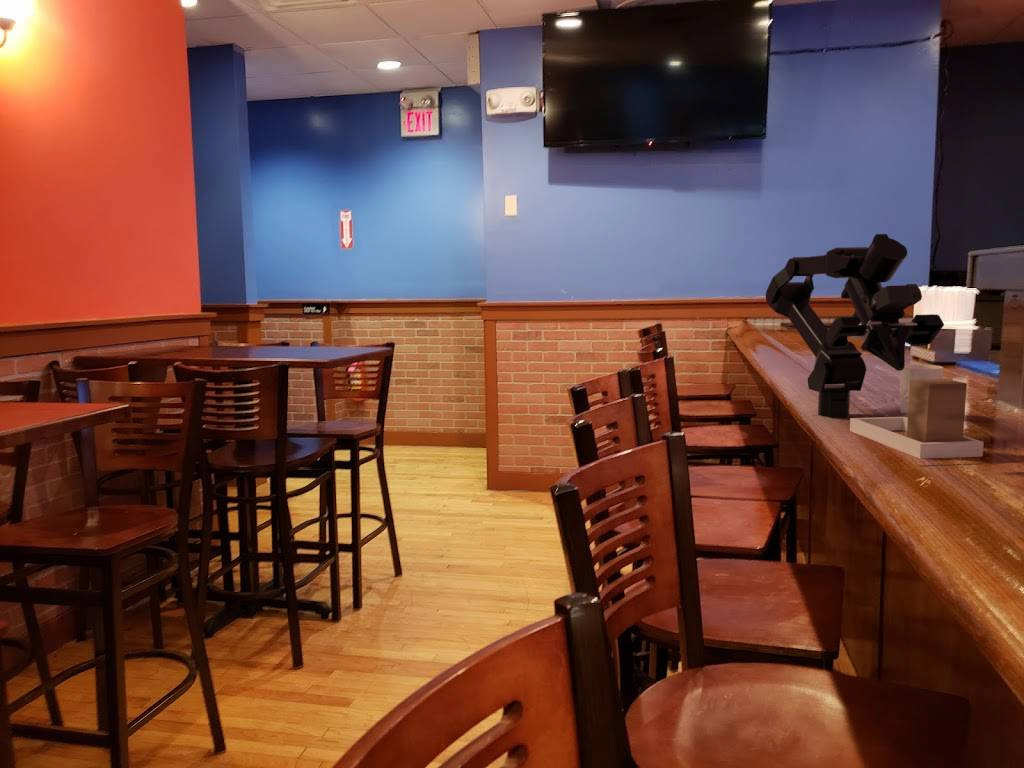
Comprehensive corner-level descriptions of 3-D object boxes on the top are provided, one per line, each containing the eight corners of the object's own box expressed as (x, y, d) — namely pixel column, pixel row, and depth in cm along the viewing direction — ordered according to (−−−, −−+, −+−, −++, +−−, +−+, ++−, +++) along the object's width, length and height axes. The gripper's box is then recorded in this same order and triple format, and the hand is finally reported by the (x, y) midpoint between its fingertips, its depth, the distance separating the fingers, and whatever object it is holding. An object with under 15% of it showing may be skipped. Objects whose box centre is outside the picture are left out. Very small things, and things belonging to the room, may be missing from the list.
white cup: (948, 418, 155) (951, 368, 154) (908, 418, 155) (911, 369, 154) (928, 411, 163) (931, 364, 161) (890, 411, 163) (892, 364, 162)
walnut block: (906, 447, 125) (910, 379, 123) (941, 446, 125) (946, 378, 124) (924, 454, 120) (929, 384, 118) (961, 453, 120) (966, 383, 119)
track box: (849, 437, 139) (850, 418, 138) (903, 435, 140) (904, 416, 139) (919, 466, 118) (920, 444, 118) (982, 464, 119) (983, 441, 118)
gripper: (836, 269, 133) (866, 339, 124) (940, 267, 134) (979, 336, 125) (813, 313, 142) (840, 381, 133) (911, 310, 143) (945, 378, 134)
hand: (901, 369), depth 131 cm, fingers closed
